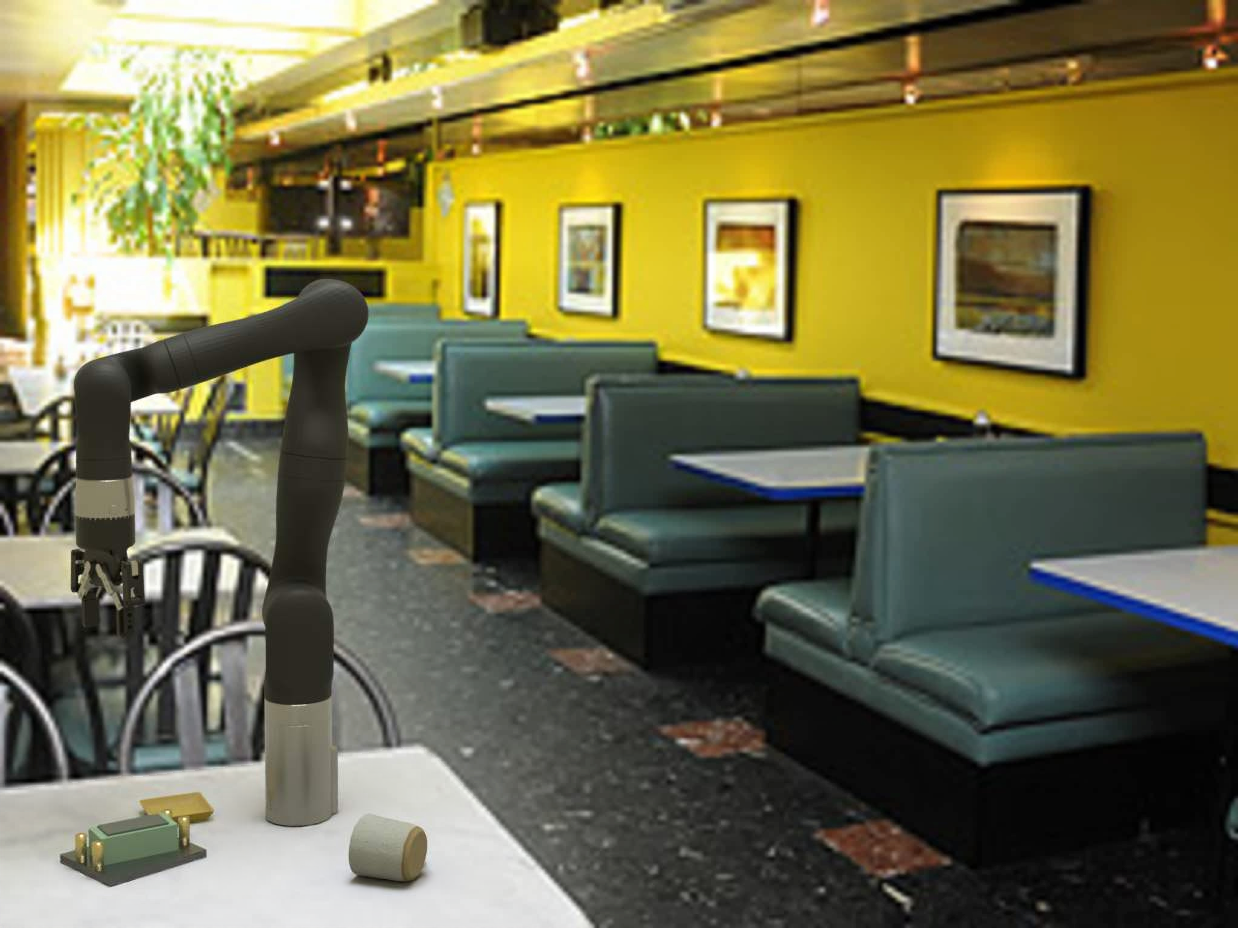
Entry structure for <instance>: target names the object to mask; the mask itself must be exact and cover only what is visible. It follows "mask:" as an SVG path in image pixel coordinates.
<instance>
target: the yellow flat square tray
mask: <svg viewBox="0 0 1238 928" xmlns="http://www.w3.org/2000/svg"><path fill="white" fill-rule="evenodd" d="M139 804H140V806H141V807H142V808H143V809H144V811H145V813H146V814H147V815H153V814H161V810H163V809H172V820H173V821H174V822H176V823H177V824H178V826H179V823H178V818H179V817H180V816H189V823H190V824H192V823H197V822H198V823H199V822H205V821H207V820H208V819H209V818H210V817H211V816H212V815H213V813H214V812H215V810H214V808H213V806H212V805H211V804H210V803H209V801H208V800H207V799H206V797H205V796H204V795H203V794H202V792H200V791H195V792H188V793H187V792H186V793H180V794H173V795H164V796H157V797H149V798H142V799H141V800H139Z"/></svg>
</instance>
